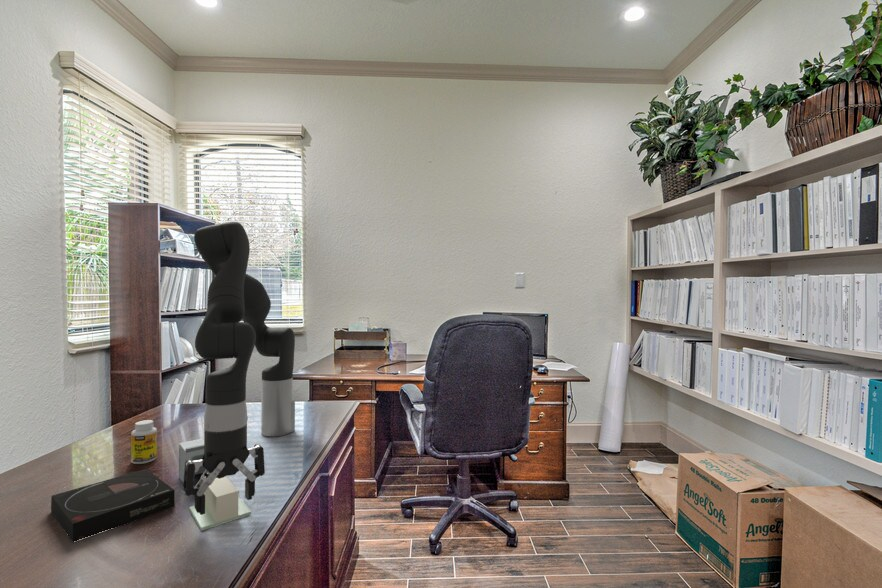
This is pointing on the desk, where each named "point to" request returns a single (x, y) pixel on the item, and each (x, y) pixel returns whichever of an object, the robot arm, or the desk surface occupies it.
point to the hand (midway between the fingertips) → (225, 505)
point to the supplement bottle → (143, 442)
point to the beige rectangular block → (221, 499)
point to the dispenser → (190, 455)
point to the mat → (208, 521)
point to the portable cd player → (111, 503)
